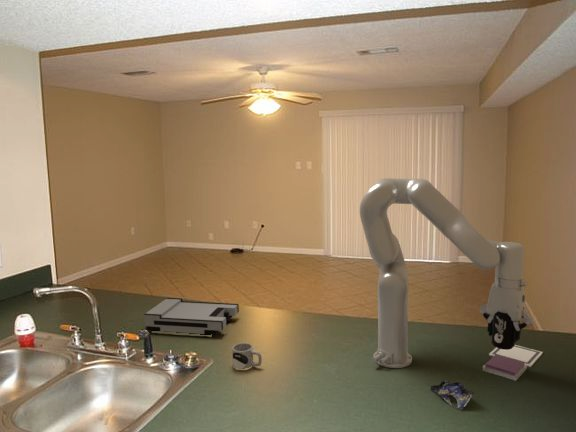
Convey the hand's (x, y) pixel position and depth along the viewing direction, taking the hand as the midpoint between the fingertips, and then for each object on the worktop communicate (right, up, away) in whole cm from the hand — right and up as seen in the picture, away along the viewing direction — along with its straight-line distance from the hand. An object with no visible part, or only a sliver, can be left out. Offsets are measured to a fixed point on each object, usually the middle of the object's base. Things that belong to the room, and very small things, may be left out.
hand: (503, 337), depth 144 cm
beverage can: (0, -3, +1) cm, 3 cm away
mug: (-80, -12, +8) cm, 82 cm away
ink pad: (+1, -10, +1) cm, 11 cm away
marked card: (+10, -9, +12) cm, 18 cm away
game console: (-105, -7, +44) cm, 114 cm away
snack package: (-21, -14, -13) cm, 29 cm away
